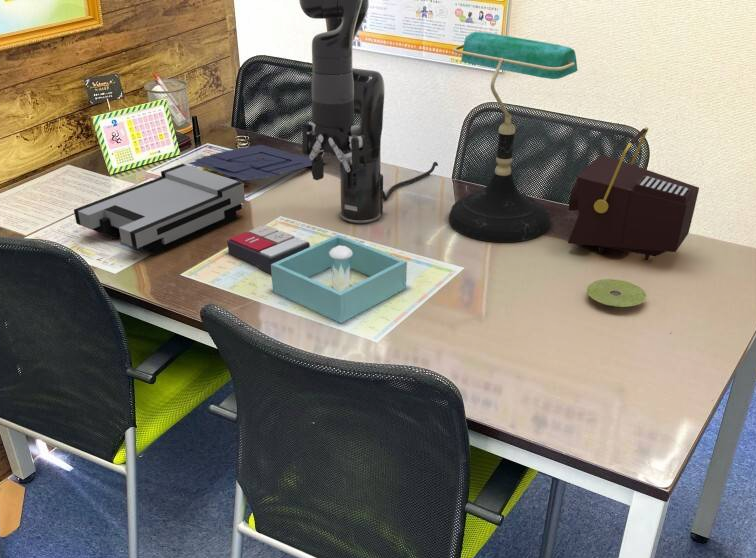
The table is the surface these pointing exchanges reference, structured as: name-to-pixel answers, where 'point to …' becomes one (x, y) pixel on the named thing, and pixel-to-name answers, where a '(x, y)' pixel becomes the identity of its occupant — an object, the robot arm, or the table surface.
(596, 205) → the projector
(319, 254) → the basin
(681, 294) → the table surface
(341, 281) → the milkshake
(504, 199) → the banker's lamp
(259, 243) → the red and gray box
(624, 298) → the green flat disc
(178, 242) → the game console
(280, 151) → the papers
